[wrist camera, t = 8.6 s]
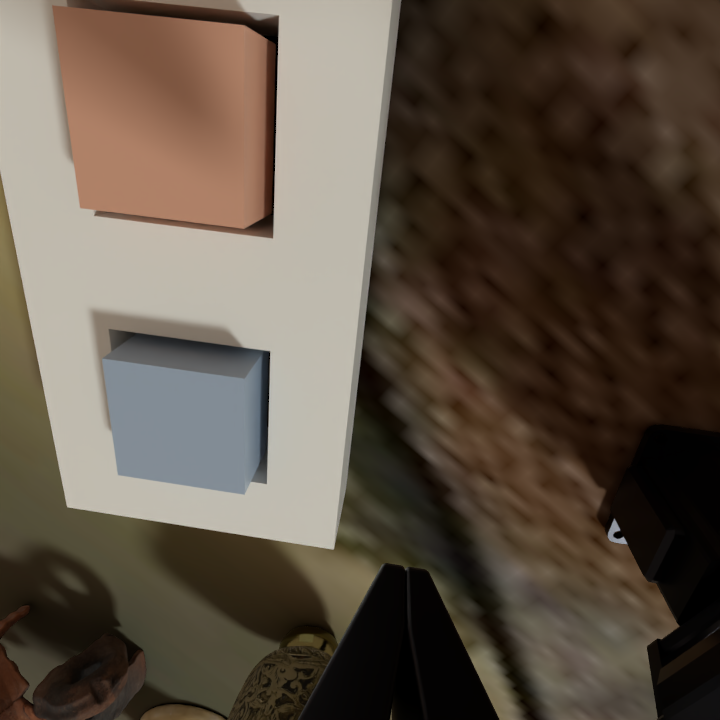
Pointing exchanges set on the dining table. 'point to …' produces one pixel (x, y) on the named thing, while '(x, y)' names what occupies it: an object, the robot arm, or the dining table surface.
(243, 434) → the blue key
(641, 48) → the dining table surface
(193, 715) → the hand bell
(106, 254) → the key panel
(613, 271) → the dining table surface
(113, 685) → the pottery mug
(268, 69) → the terracotta key
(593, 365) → the dining table surface
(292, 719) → the cup
